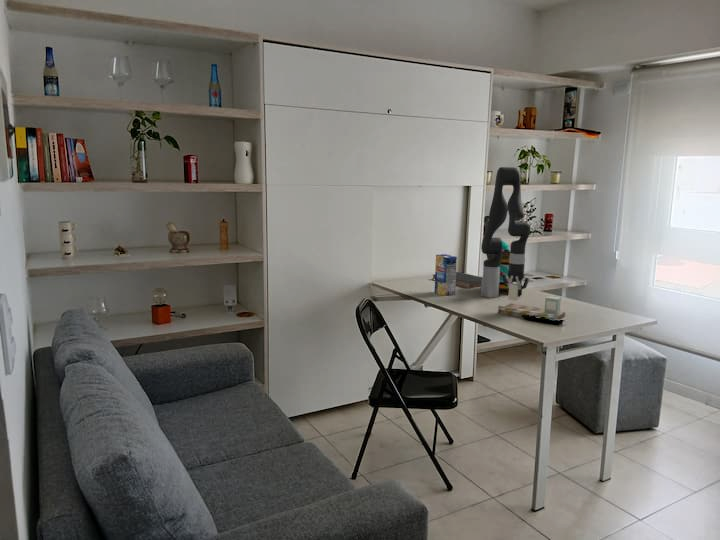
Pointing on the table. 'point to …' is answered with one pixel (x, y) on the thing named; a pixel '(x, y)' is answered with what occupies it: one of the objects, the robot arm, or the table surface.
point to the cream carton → (513, 292)
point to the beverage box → (445, 274)
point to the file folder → (467, 280)
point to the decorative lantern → (503, 265)
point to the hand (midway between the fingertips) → (514, 295)
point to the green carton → (552, 305)
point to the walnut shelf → (527, 311)
